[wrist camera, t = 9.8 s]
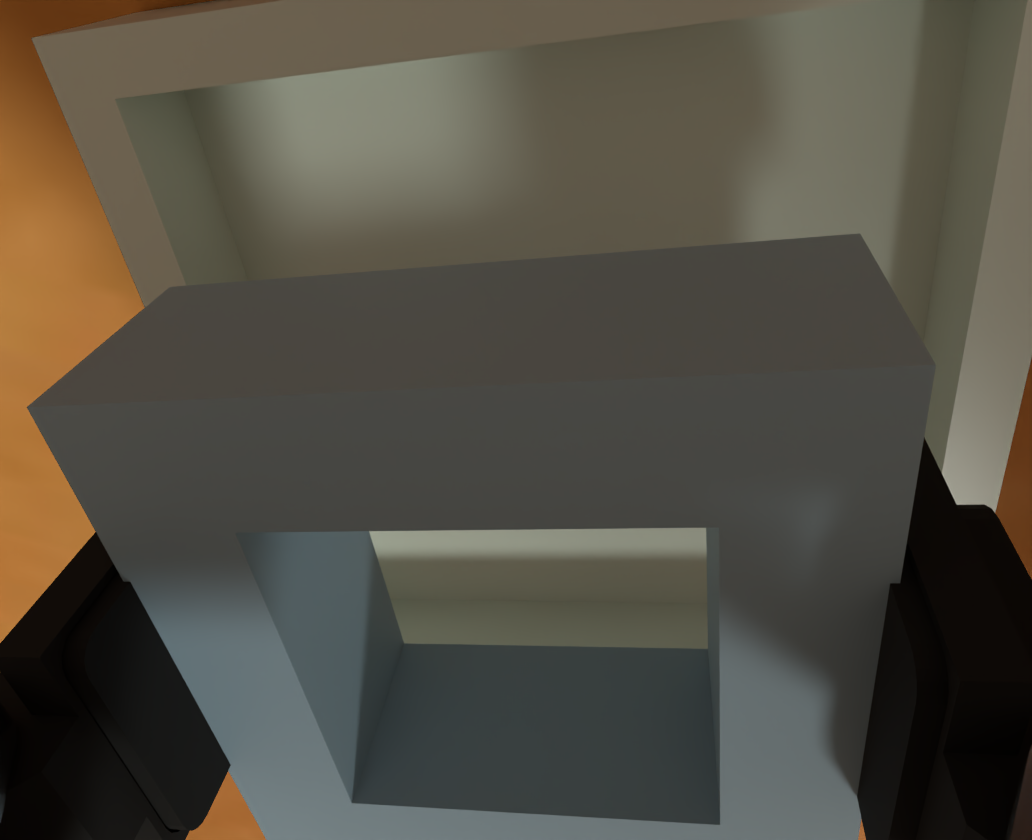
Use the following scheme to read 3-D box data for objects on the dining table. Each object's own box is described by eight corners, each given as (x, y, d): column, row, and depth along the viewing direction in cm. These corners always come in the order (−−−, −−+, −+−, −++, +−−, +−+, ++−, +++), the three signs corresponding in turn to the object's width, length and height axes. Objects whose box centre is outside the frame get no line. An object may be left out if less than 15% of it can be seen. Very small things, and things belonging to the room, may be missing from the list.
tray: (914, 605, 16) (949, 708, 14) (342, 597, 18) (303, 684, 16) (1044, -127, 9) (1146, -129, 7) (137, 12, 12) (31, 38, 10)
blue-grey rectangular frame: (860, 232, 7) (935, 365, 5) (807, 787, 12) (837, 967, 10) (169, 286, 9) (27, 406, 7) (361, 765, 13) (310, 920, 11)
